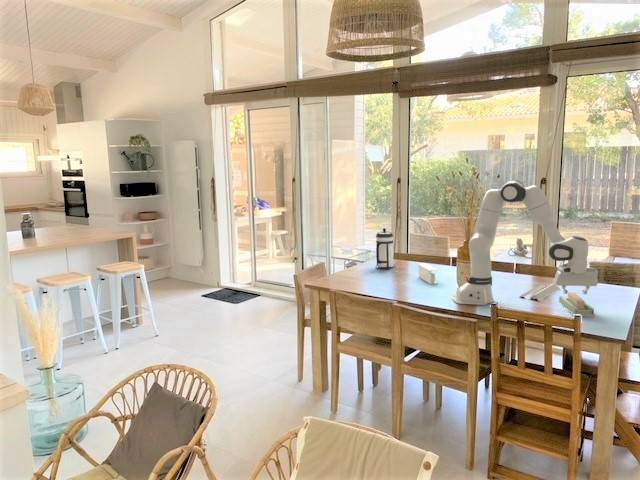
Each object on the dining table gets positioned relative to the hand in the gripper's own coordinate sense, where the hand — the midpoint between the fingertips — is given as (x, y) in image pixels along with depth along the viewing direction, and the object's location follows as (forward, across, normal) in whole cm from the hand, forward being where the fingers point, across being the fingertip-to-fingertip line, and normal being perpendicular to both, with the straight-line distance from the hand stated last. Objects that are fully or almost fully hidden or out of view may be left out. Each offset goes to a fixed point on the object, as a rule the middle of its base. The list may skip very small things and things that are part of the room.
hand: (575, 293), depth 253 cm
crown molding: (+10, +7, -30) cm, 33 cm away
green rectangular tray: (+9, -1, 0) cm, 9 cm away
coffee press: (+12, +98, -99) cm, 140 cm away
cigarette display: (+11, +70, -63) cm, 95 cm away
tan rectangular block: (+8, -1, 0) cm, 8 cm away
